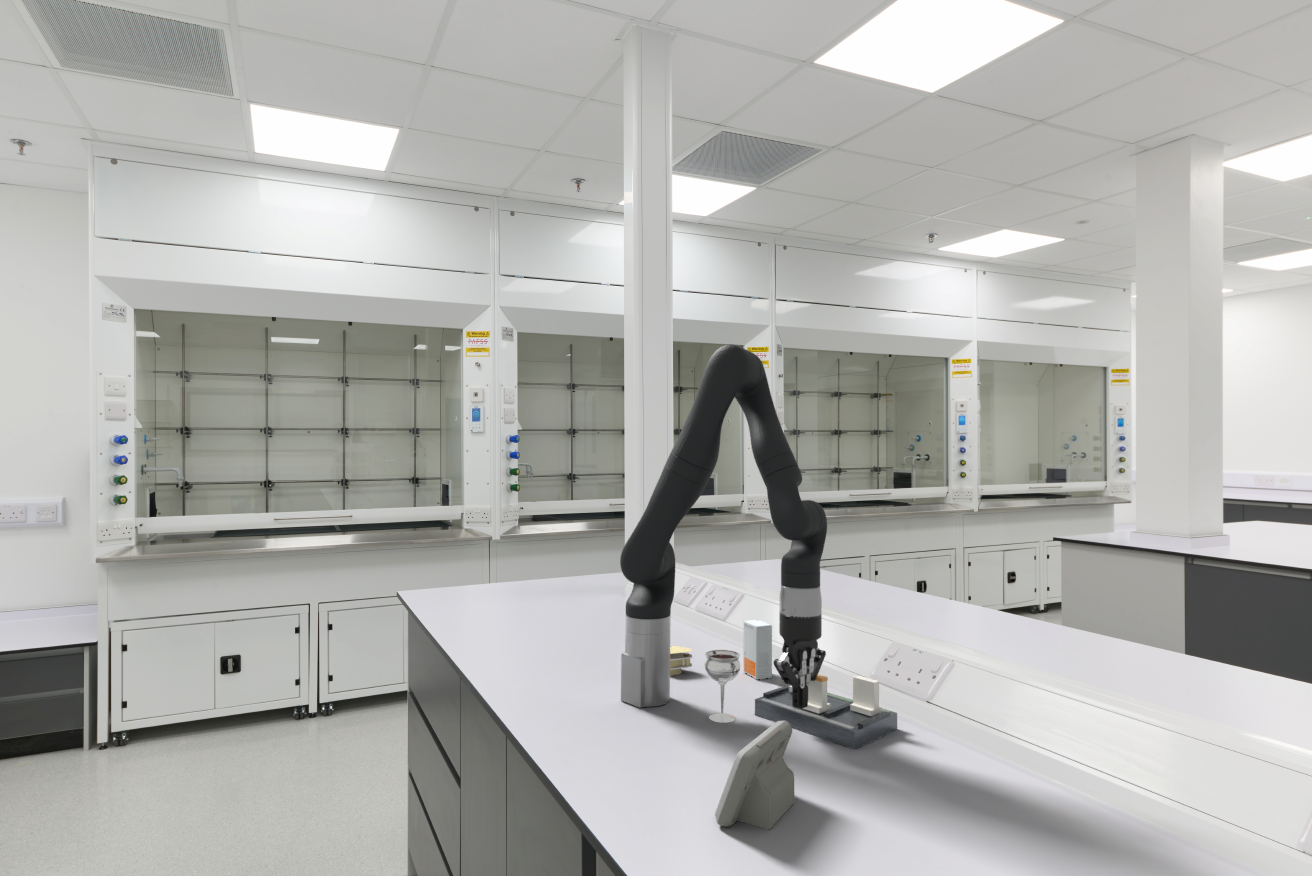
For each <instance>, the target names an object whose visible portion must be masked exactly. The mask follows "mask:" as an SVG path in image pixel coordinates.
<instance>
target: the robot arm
mask: <svg viewBox="0 0 1312 876" xmlns="http://www.w3.org/2000/svg"><path fill="white" fill-rule="evenodd" d="M699 383H700V384H699V386H698V390H697V393H696V395H695V398H694V402H693V403H692V406H691V408H690V411H689V412H688V414H687V417H686V419H685V421H684V424H683V426H682V429H681V430H680V433H679V435H678V437H677V440H676V441H675V443H674V445H673V447H672V449H671V451H670V454H669V456H668V457H667V460H666V462H665V464H664V465H663V469H662V472H661V474H660V476H659V479H658V480H657V482H656V484H655V487H654V490H653V492H652V493H651V496H650V499H649V501H648V503H647V506H646V508H645V510H644V512H643V513H642V516H641V517H640V520H639V521H638V522H637V525H636V526H635V528H634V529H633V531H632V532H631V534H630V536H629V538H628V539H627V541H626V543H625V544H624V546H623V549H622V550H621V554H620V558H619V559H620V561H619V564H620V570H621V573H622V575H623V576H624V577H625V579H627V580H628V581H629V582H630V583H632V584H633V586H632V591H631V592H630V594H629V596H628V598H627V600H626V602H625V633H624V634H625V636H624V637H625V638H624V639H625V640H624V642H625V643H624V652H622V653H621V657H620V661H621V663H620V667H621V668H620V701H622V702H624V703H627V704H629V705H632V706H635V707H638V708H639V709H640V708H645V707H647V708H648V707H657V706H658V707H659V706H663V705H665V704H667V703H669V701H670V699H671V676H670V647H671V625H672V624H671V613H672V612H671V610H672V609H671V608H672V604H673V601H674V598H675V585H676V584H675V582H676V554H675V551H674V548H673V546H672V544H671V542H670V541H671V539H672V537H673V534H674V532H675V531H676V529H677V527H678V525H680V523H681V521H682V520H683V518H685V516H686V515H687V514H688V512H689V511H690V510H691V509H692V507H693V506H695V504H696V503H697V501H698V500H699V498H700V497H701V495H702V494H703V492H704V491H705V488H706V487H707V486H708V485H707V484H708V483H709V480H710V479H711V477H712V474H713V472H714V470H715V468H716V465H717V462H718V460H719V455H720V454H719V453H720V447H721V446H720V445H721V437H722V434H721V433H722V426H723V423H724V419H725V417H726V415H727V413H728V411H729V409H730V407H731V404H732V402H733V400H734V399H735V400H736V402H737V404H739V406H740V408H741V410H742V412H743V414H744V416H745V419H746V423H747V425H748V431H749V435H750V436H749V437H750V445H751V450H752V452H751V453H752V454H753V459H754V461H755V464H756V466H757V469H758V471H759V474H760V476H761V479H762V481H763V483H764V485H765V488H766V493H767V501H768V505H769V507H768V508H769V513H770V517H771V521H772V523H773V526H774V528H775V529H776V531H777V532H778V534H780V536H781V537H782V538H784V539H786V540H789V541H791V543H790V549H788V551H787V552H786V553H785V554H783V556H782V558H781V563H780V591H779V612H778V613H779V617H778V618H779V621H778V622H779V625H778V626H779V629H778V631H779V635H780V637H781V638H782V639H783V645H782V649H781V651H782V654H781V656H780V658H778V659H777V658H775V659H774V660H773V665H774V668H775V669H776V671H777V672H778V675H779V676H780V678H781V680H782V681H783V683H784V684H785V685H791V686H792V702H793V705H794V707H797V708H800V709H802V708H805V707H807V706H808V686H810V683H811V681H812V680H813V681H815V680H816V678H817V675H819V673H820V671H821V667H822V665H823V663H824V660H825V657H826V656H827V652H826V650H822V649H820V648H819V647H818V646H819V644H818V640H820V639H821V637H822V635H823V634H822V631H823V630H822V626H823V625H822V618H823V617H822V615H823V614H822V613H823V612H822V611H823V610H822V608H823V607H822V603H823V602H822V592H821V560H822V557H823V553H824V548H825V543H826V538H827V533H828V532H827V531H828V519H827V515H826V512H825V510H824V508H823V506H822V505H821V504H820V503H818V502H817V501H814V500H810V499H805V500H804V499H803V500H802V499H801V496H800V492H799V486H800V485H801V484H802V482H803V475H802V472H801V469H800V467H799V465H798V463H797V460H796V458H795V455H794V454H793V451H792V449H791V447H790V444H789V442H788V440H787V438H786V434H785V433H784V431H783V428H782V425H781V422H780V420H779V416H778V413H777V410H776V408H775V403H774V401H773V398H772V394H771V390H770V385H769V380H768V376H767V373H766V369H765V367H764V363H763V362H762V360H761V359H760V358H759V356H758V355H757V354H755V353H754V352H752V351H750V350H748V349H746V348H743V347H741V346H739V345H737V344H729V343H728V344H725V345H724V344H723V346H720V347H719V348H717V349H716V350H715V351H714V352H713V354H712V355H711V356H710V358H709V360H708V361H707V364H706V366H705V370H704V372H703V375H702V378H701V380H700V382H699ZM813 668H814V669H813Z"/></svg>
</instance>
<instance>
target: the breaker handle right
mask: <svg viewBox="0 0 1312 876" xmlns="http://www.w3.org/2000/svg"><path fill="white" fill-rule="evenodd" d="M852 700H853V704H850V710H852V711H855V712H858V713H862V714H865V715H868V716H874V715H876V714H878V713H881V712H882V709H883V706H881V705H880V681H879V680H875V679H873V678H869V677H865V676H860V675H855V676H852Z"/></svg>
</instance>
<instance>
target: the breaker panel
mask: <svg viewBox="0 0 1312 876" xmlns="http://www.w3.org/2000/svg"><path fill="white" fill-rule="evenodd" d="M789 686H791V685H789V684H786V685H784V686H780V687H777V688H775V689H771V690H769V691H766V692H763V693H762V694H763V695H762V696H759V697H757V698H755V699H754V715H755V716H757V717H760V718H763V719H766V720H769V721H771V722H772V721H773V722H774V723H776V722H777V721H787V722H788V723H789V724H790V725H791V727H792V729H794V730H797V731H801V732H804V733H806V734H809V735H811V736H814V737H817V738H821V739H823V740H826V741H829V742H832V743H835V744H838V745H840V746H843V747H847V748H849V749H852V750H857V749H859V748H861V747H863V746H865V745H867V744H870V743H872V742H874V741H876V740H877V739H880V738H883V737H884V736H886V735H888V734H891V733H892V732H894V731H897V730H898V712H896V711H892V710H889V709H886V708H882V712H881V713H878V714H876V715H874V716H868V715H865V714H862V713H858V712H855V711H852V710H850V704H853V699H851V698H847V697H844V696H841V695H837V694H835V693H829V692H827V703H829V704H830V710H827V711H825V712H822V713H820V714H818V713H815V712H812V711H809V710H805V709H800V708H797V707H794V705H793V702H792V692H789Z"/></svg>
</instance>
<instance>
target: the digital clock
mask: <svg viewBox="0 0 1312 876" xmlns="http://www.w3.org/2000/svg"><path fill="white" fill-rule="evenodd" d="M792 734H793V728H792V727H791V725H790V724H789V723H788V722H787V721H777V722H774V723H773V724H772V725H770V726H769V727H768V728H767V729H766V730H765V731H763V732H762V733H761V734H759V735H758V736H757V737H756V738H754V739H752V741H750V742H749V743H748V744H746V745H745V746H744V747H743V748H742V749H741V750H739V751H738V753H737V754H736V756H735V759H734V761H733V763H732V767H731V768H730V771H729V773H728V777H727V781H726V782H725V785H724V788H723V791H722V794H721V796H720V799H719V802H718V804H717V806H716V810H715V813H714V816H715V820H716V823H717V824H718V826H721V827H726V828H727V827H731V826H732V825H733V824H735V823H736V822H737V821H739V822H742V823H745V824H749V825H752V826H756V827H758V828H762V829H765V830H772V828H773V826H775V824H776V823H777V822H778V821H779V820H780V819H781V818H783V815H784V814H786V813H787V811H788V810H789V809H790V808H792V806H793V805H794V804H795V774H794V772H793V770H792V769H791V768H790V767H789V766H788V765H787V763H786V761H785V759H784V756H785V752H786V750H787V748H788V745H789V742H790V740H791V737H792Z"/></svg>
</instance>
